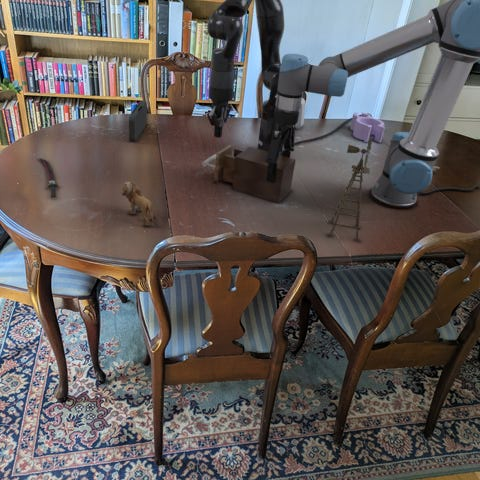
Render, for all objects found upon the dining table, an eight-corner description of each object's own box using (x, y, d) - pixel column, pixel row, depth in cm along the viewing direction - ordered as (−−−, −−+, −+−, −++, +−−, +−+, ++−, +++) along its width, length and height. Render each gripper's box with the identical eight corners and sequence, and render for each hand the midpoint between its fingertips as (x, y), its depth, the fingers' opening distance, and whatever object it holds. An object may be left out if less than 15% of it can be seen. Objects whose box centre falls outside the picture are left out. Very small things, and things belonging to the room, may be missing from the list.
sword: (61, 197, 141) (61, 193, 140) (50, 198, 139) (50, 194, 139) (49, 160, 164) (48, 156, 163) (39, 160, 163) (39, 157, 162)
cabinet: (232, 189, 157) (235, 156, 150) (246, 177, 165) (249, 146, 159) (278, 203, 151) (283, 170, 145) (290, 190, 159) (295, 159, 153)
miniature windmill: (357, 241, 135) (384, 143, 119) (328, 236, 136) (351, 138, 120) (357, 226, 143) (382, 132, 127) (330, 221, 144) (351, 127, 128)
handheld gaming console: (140, 122, 202) (140, 99, 196) (147, 123, 202) (146, 100, 196) (128, 141, 182) (127, 116, 177) (135, 142, 182) (134, 117, 177)
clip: (343, 126, 223) (346, 112, 219) (367, 127, 225) (371, 113, 221) (360, 142, 206) (364, 127, 202) (386, 142, 209) (390, 127, 205)
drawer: (200, 175, 161) (201, 149, 156) (213, 166, 168) (215, 140, 163) (255, 192, 154) (259, 165, 149) (267, 182, 161) (270, 155, 156)
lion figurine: (118, 210, 138) (116, 182, 133) (132, 204, 141) (131, 177, 137) (151, 229, 130) (150, 201, 126) (165, 223, 134) (165, 195, 129)
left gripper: (220, 78, 153) (217, 128, 163) (200, 86, 143) (198, 139, 152) (241, 82, 151) (236, 133, 160) (221, 91, 141) (218, 145, 150)
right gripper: (289, 97, 151) (280, 160, 163) (260, 115, 133) (252, 184, 145) (311, 102, 149) (300, 166, 161) (284, 121, 131) (274, 191, 143)
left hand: (217, 136), depth 156 cm, fingers closed
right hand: (277, 175), depth 153 cm, fingers closed on cabinet, 11 cm apart
